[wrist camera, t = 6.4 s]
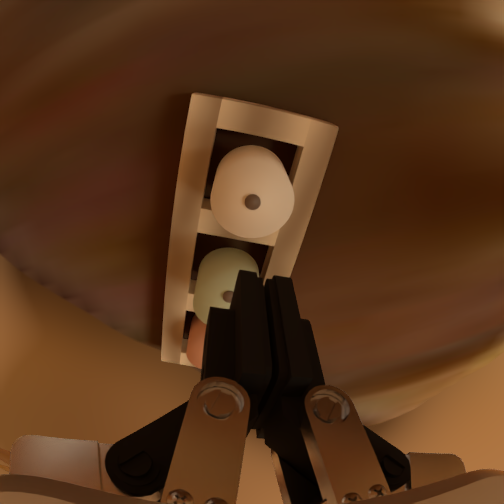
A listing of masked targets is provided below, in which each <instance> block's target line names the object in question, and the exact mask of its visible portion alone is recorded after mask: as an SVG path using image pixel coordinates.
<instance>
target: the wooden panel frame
mask: <svg viewBox="0 0 504 504" xmlns="http://www.w3.org/2000/svg"><path fill="white" fill-rule="evenodd" d="M217 128H220V129H226V130H231V131H236V132H241V133H246V134H251V135H256V136H260V137H265V138H269V139H274V140H278V141H282V142H287V143H291V144H295V145H298V146H297V149H296V153H295V156H294V160H293V163H292V167H291V170H290V174H289V177H288V178H289V180H290V183H291V185H292V188H293V191H294V207H293V211H292V213H291V215H290V217H289V219H288V220H287V222H286V223H285V224H284V225H283V226H282V227H281V228H280V229H279V230H277V231H276V232H274V233H272V234H270V235H267V236H264V237H260V238H244V237H239V236H236V235H234V234H232V233H230V232H228V231H227V230H225V229H224V228H223V227H222V226H221V225H220V224H219V223H218V222H217V220H216V219H215V217H214V215H213V212H212V209H211V202H210V199H207V198H204V194H205V188H206V183H207V177H208V172H209V167H210V161H211V156H212V151H213V146H214V141H215V136H216V131H217ZM338 129H339V127H338V126H336V125H334V124H333V123H331V122H327V121H324V120H320V119H317V118H313V117H310V116H306V115H302V114H299V113H295V112H291V111H287V110H283V109H279V108H274V107H270V106H266V105H261V104H257V103H252V102H247V101H242V100H237V99H232V98H227V97H221V96H216V95H210V94H204V93H197V92H196V93H193V94H192V96H191V101H190V106H189V112H188V117H187V123H186V128H185V134H184V140H183V146H182V152H181V158H180V165H179V171H178V178H177V185H176V192H175V200H174V208H173V216H172V224H171V233H170V242H169V252H168V262H167V273H166V285H165V298H164V313H163V330H162V351H161V361H165V362H171V363H176V364H182V365H188V366H194V365H193V364H192V363H190V361H189V360H188V358H187V355H186V351H187V345H188V339H183V335H184V327H185V319H186V311H192V312H194V309H193V298H194V293H195V287H196V281H197V280H191V275H192V268H193V261H194V254H195V248H196V242H197V235H198V233H204V234H209V235H215V236H220V237H226V238H231V239H237V240H243V241H248V242H254V243H259V244H265V245H269V247H268V250H267V254H266V257H265V260H264V264H263V267H262V271H261V274H260V277H261V278H263V285H264V284H265V281H266V279H267V278H268V279H272V277H273V276H274V275H277V276H283V277H290V275H291V272H292V269H293V267H294V264H295V261H296V258H297V255H298V252H299V249H300V247H301V244H302V241H303V238H304V235H305V232H306V229H307V226H308V223H309V220H310V217H311V214H312V211H313V208H314V205H315V202H316V199H317V196H318V193H319V190H320V187H321V184H322V181H323V177H324V174H325V171H326V168H327V165H328V162H329V158H330V155H331V152H332V149H333V146H334V142H335V139H336V136H337V132H338ZM194 367H196V366H194Z"/></svg>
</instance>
